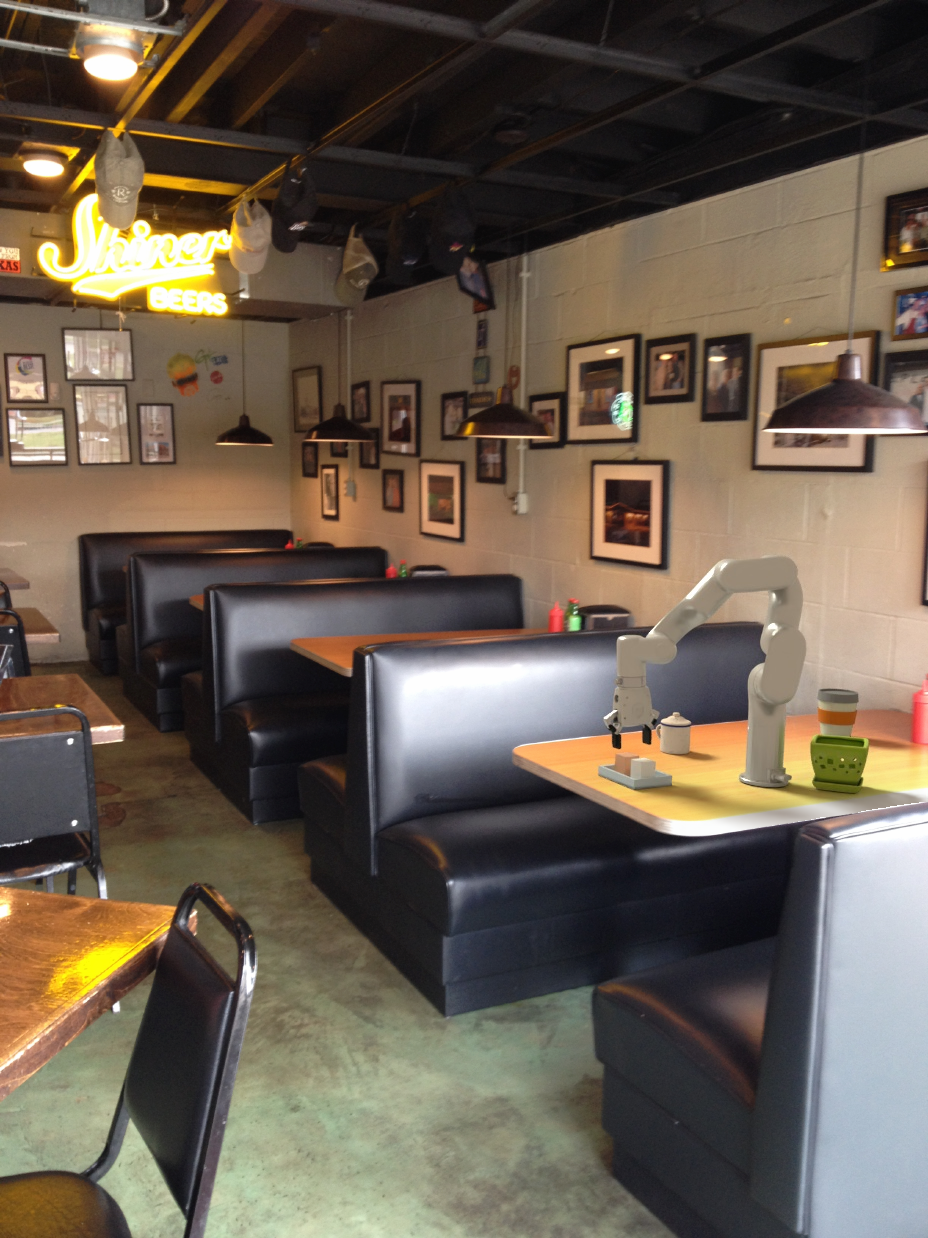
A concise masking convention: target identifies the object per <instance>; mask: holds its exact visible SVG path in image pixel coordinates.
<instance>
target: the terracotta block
mask: <svg viewBox="0 0 928 1238" xmlns="http://www.w3.org/2000/svg"><path fill="white" fill-rule="evenodd" d="M614 755H615V757H614V764H615V771H616V772H619V773H621V774H624V775H626V776H629V777H630V775H631V759H639V758H640V755H639V754H636V753H632V752H629V751H626V752H620V753H619V752H617V753H615V754H614Z"/></svg>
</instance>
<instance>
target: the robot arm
mask: <svg viewBox="0 0 928 1238" xmlns="http://www.w3.org/2000/svg"><path fill="white" fill-rule="evenodd" d="M798 572H799V570H798V566H797V564H796V563H795V561H794V560H793V559H791V558H790V557H789V556H786V555H783V554H781V555H780V554H774V553H773V554H772V553H770V554H765V555H763V556H761V557H759V558H747V559H746V558H745V559H744V558H743V559H736V558H735V559H734V558H724V559H722V560H721V559H720V560H719V561H718V562H717V563H716V564H715V565H713V567H712V568H711V569H710V570H709V571H707V573H706V574H705V575H704V576H703V577H702V579H701V580H700V581H699V582H698V583H697V584H695V586H694V587H693V588H692V589H691V590H690V591H689V592H688V594H686V596H685V597H683V599H681V600H680V602H678V603H677V604H676V605H675V606H674V607H673V608H671V610H669V612H668V613H667V614H665V615H664V616H663V617H662V618H661V619H660V621H659V622H658V623H657V624H656V625H655V626H654V627H653V628H652V629H651V630H650V632H648V634H646V637H643V636H642V635H637V634H626V635H621V636H618V637H617V640H616V679H614V680H613V684H614V685H615V686H616V687H615V688H614V694H613V699H612V711H611V712H610V713H608V714H607V715H606V716H604V717H603V718H602V719H603V722H604V725H605V727H606V729H608V731H609V732H610V733H611V745H612V748H614V749H616V750H621V749H622V734H621V733H620V732H621V731H622V730H623V728H629V727H630V728H631V727H637V726H643V727H642V729H641V732H642V733H641V734H642V736H641V740H642V741H641V742H642V743H643V744H645V745H648V746H651V745H652V739H653V736H652V735H653V734H652V733H653V732H652V730H654V728H655V725H656V723H657V722H658V718H659V716H660V711H658V710H657V709H654V708H653V705H652V696H651V692H650V687H649V686H647V663H649V664H655V665H656V664H657V665H665V664H669V663H671V662H672V661H673V660H675V658H676V657H677V652H678V648H677V644H678V642H680V641H681V640H682V638H684V637H685V635H686V634H688V633H689V632H690V631H691V630H693V629H694V628H696V627H698V626H701V625H703V624H705V623H706V622H708V621H709V620H711V618H712V617H713V616H714V615H715V614H716V613H717V612H718V611H719V610H720V608H721V607H722V606H724V604H725V603H726V602H727V601H728V600H729V599H730V598H731V597H732V596H733V595H734V594H742V593H744V594H745V593H747V594H748V593H757V592H765V591H767V595H768V605H767V610H766V616H765V620H764V625H763V628H762V633H761V636H760V642H759V643H760V644H759V645H760V648H761V650H762V652H763V653H764V654H765V655H766V656H765V659H764V662H761V663H759V664H757V665H756V666H755V667H754V668H752V669H751V671H750V673H749V675H748V678H747V679H748V680H747V694H748V695H747V697H748V716H747V717H748V718H747V731H746V732H747V733H746V734H747V735H746V753H745V771H744V772H741V773H740V774H739V775H738V776H739V777H738V780H739V781H740V782H742V783H743V784H747V785H751V786H755V787H763V788H782V787H785V786H787V785H789V781H791V780H792V778H793V777H792V775H791V774H787V773H786V771H787V768H786V767H784V757H785V738H786V724H787V704H788V703H789V702H791V701H792V700H793V699H794V697H795V696H796V694H797V692H798V688H799V685H800V680H801V678H802V673H803V669H804V663H805V659H806V655H807V641H806V638H805V635H804V634H803V633H802V631H800V624H801V617H802V612H803V607H804V606H803V605H804V593H803V588H802V585H801V582H800V580H799V578H798V575H799V573H798ZM612 722H613V724H612Z"/></svg>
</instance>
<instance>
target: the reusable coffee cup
mask: <svg viewBox="0 0 928 1238" xmlns="http://www.w3.org/2000/svg"><path fill="white" fill-rule="evenodd" d="M816 698H817V700H818V701H817V702H818V703H817V704H818V706H817V708H816V709H817V718H818V719H817V720H818V722H819V729H820V735H821V734H822V735H833V736H846V737H850V736H851V737H852V731H853V728H854V725H855V724H856V719H857V715H858V713H857V712H858V709H857V706H858V703H859V702H860V701H859V699H860V698H859V692H858V691H855V690H850V689H843V688H830V687H829V688H819V689H818V691H817V697H816Z"/></svg>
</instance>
